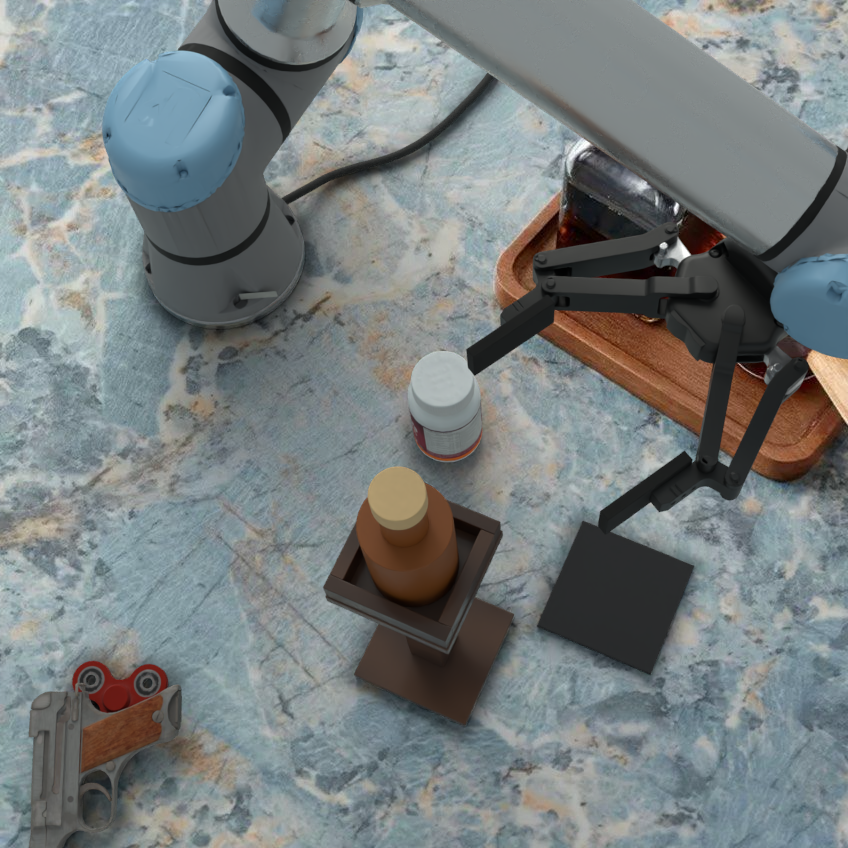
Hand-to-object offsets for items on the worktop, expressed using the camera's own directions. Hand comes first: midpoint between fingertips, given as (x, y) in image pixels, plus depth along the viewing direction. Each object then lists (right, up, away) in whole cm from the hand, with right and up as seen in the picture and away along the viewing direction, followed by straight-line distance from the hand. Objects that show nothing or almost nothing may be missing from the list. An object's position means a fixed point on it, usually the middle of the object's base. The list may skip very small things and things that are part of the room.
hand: (533, 441), depth 82 cm
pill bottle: (-5, 0, +34) cm, 35 cm away
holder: (-6, -17, +27) cm, 32 cm away
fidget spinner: (-33, -22, +27) cm, 47 cm away
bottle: (-8, -8, +6) cm, 13 cm away
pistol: (-26, -29, +22) cm, 45 cm away
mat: (+9, -13, +27) cm, 32 cm away
